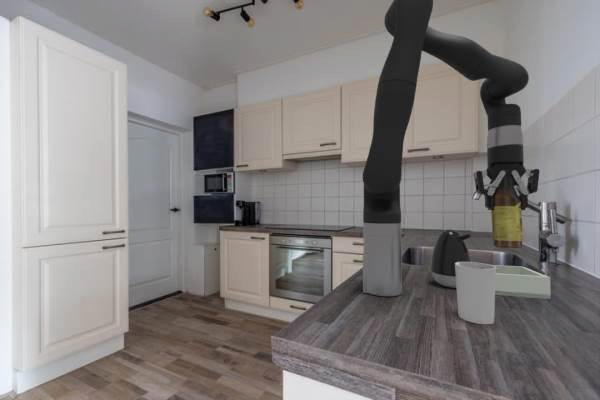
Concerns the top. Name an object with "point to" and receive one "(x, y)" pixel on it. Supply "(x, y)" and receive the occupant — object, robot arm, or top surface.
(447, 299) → the top surface
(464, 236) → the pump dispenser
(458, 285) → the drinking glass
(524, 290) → the bin
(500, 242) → the sauce bottle
